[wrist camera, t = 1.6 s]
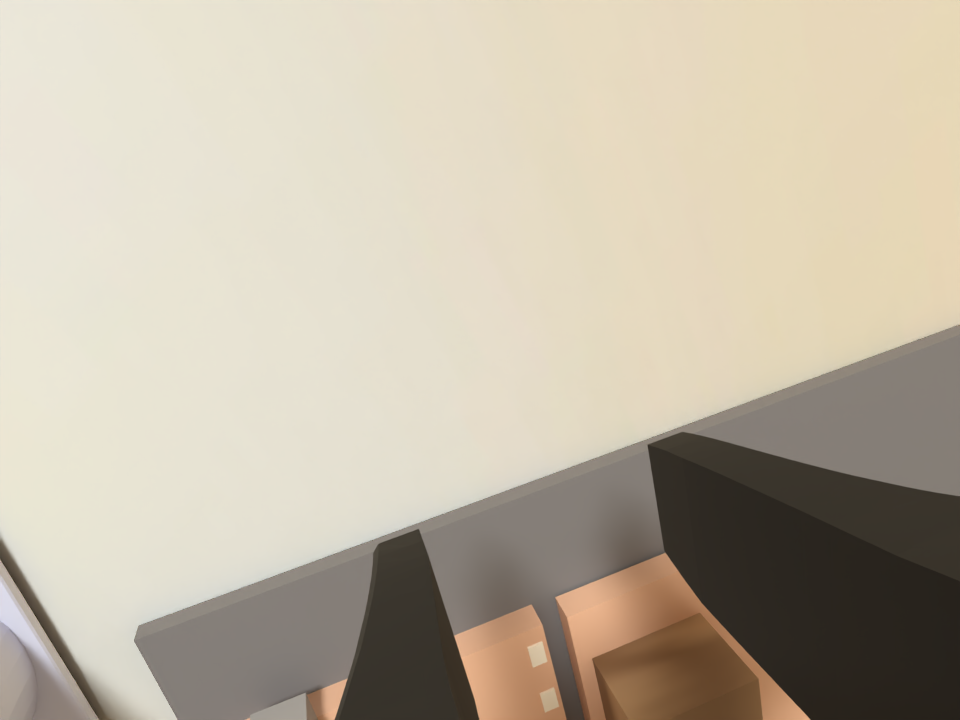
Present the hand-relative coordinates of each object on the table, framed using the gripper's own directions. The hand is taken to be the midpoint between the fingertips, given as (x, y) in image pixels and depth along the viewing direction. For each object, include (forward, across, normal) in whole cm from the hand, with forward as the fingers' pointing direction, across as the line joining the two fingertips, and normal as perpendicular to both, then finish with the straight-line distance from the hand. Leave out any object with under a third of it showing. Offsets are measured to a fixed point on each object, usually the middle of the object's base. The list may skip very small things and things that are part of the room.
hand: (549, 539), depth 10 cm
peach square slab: (+9, -7, +14) cm, 18 cm away
